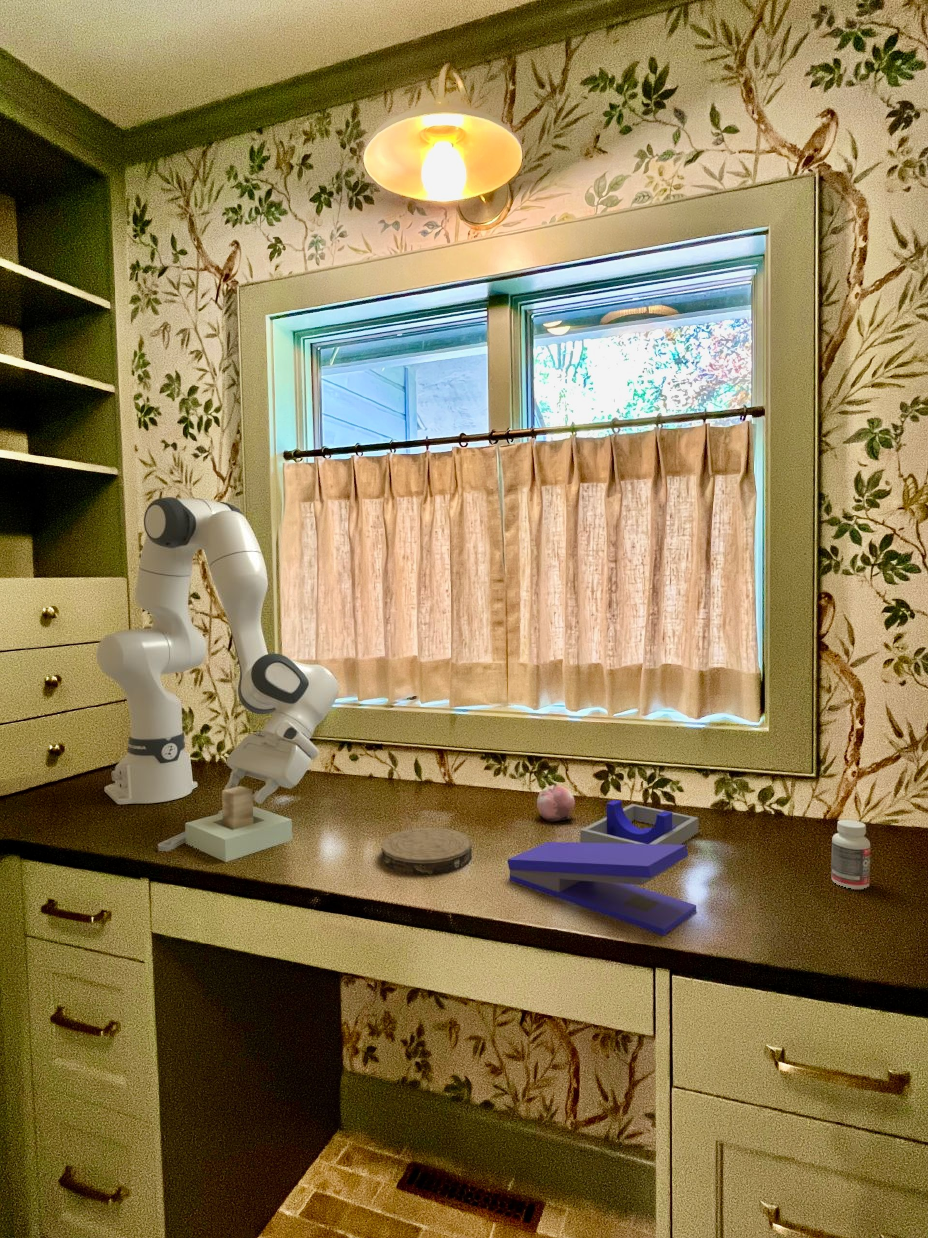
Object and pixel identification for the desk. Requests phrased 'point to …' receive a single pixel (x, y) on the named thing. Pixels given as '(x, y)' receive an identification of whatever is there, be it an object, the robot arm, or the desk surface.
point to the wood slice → (426, 851)
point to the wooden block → (237, 807)
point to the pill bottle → (851, 855)
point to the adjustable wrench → (174, 841)
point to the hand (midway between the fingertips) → (241, 796)
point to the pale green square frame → (238, 835)
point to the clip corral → (681, 833)
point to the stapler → (606, 879)
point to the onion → (555, 803)
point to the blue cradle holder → (625, 829)
